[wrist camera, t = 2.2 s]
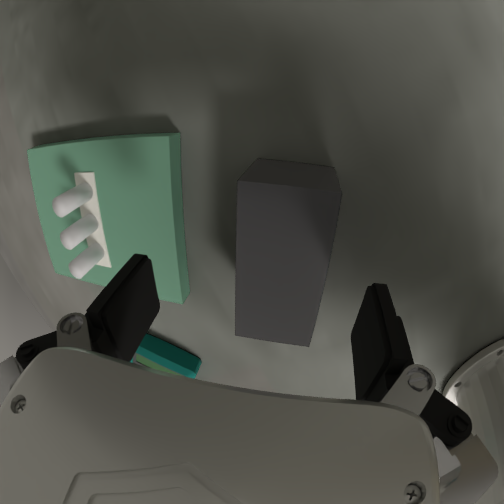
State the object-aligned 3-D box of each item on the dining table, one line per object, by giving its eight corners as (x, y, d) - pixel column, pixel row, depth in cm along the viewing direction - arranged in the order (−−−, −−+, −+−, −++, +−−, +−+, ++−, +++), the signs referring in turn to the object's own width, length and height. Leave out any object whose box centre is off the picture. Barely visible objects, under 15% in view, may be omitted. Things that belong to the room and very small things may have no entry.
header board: (180, 132, 16) (141, 145, 12) (189, 292, 22) (166, 331, 18) (39, 145, 18) (0, 160, 14) (64, 264, 24) (36, 290, 20)
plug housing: (334, 167, 15) (342, 193, 11) (312, 296, 20) (309, 346, 16) (257, 158, 16) (237, 180, 12) (251, 287, 21) (235, 335, 17)
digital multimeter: (134, 387, 34) (125, 403, 32) (137, 323, 26) (123, 343, 24) (182, 409, 34) (175, 426, 32) (205, 354, 27) (195, 377, 24)
